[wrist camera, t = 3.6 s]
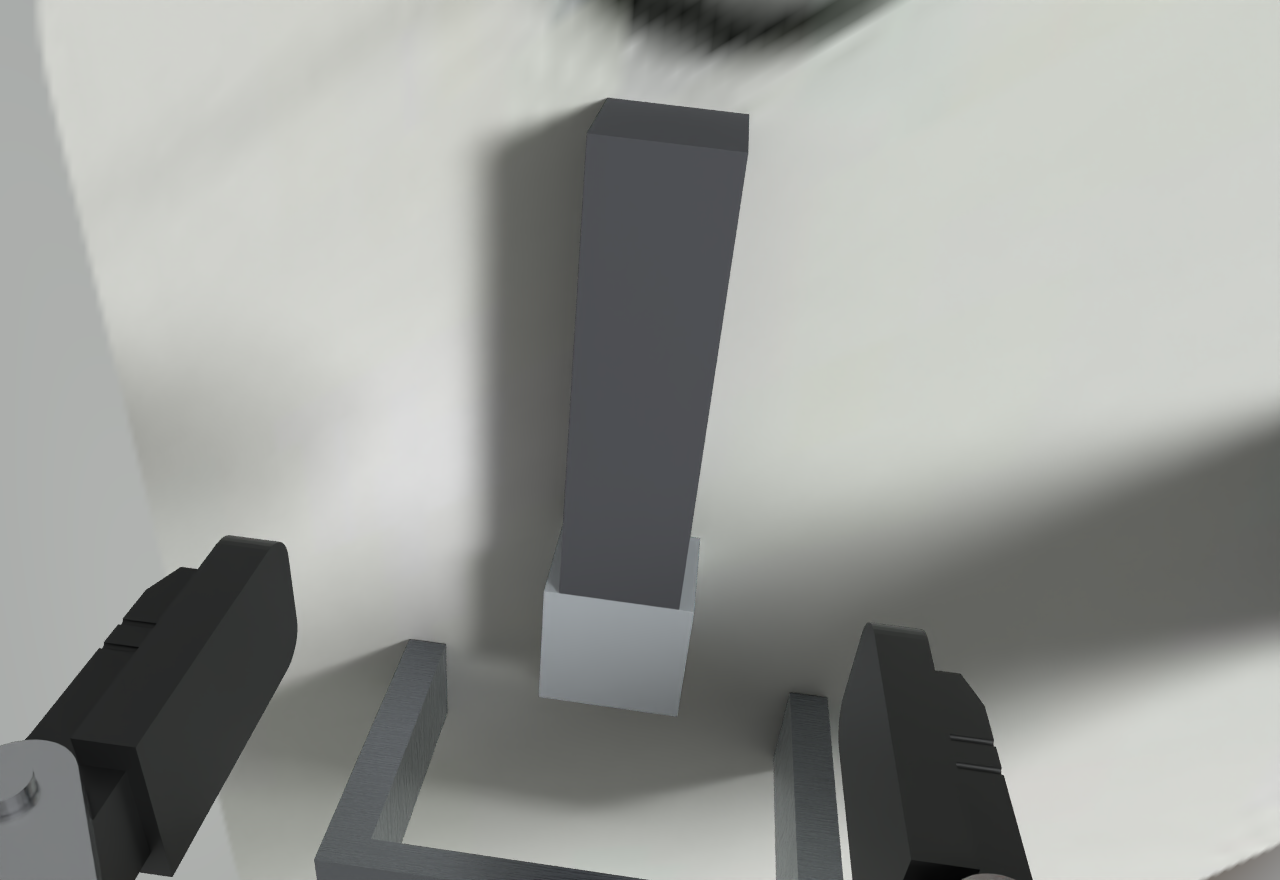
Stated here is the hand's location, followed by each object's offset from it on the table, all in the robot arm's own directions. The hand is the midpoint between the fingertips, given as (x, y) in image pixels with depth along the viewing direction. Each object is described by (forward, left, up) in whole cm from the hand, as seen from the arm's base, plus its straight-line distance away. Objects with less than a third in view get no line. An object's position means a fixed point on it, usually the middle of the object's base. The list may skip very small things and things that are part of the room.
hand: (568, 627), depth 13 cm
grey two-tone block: (0, +7, -18) cm, 19 cm away
